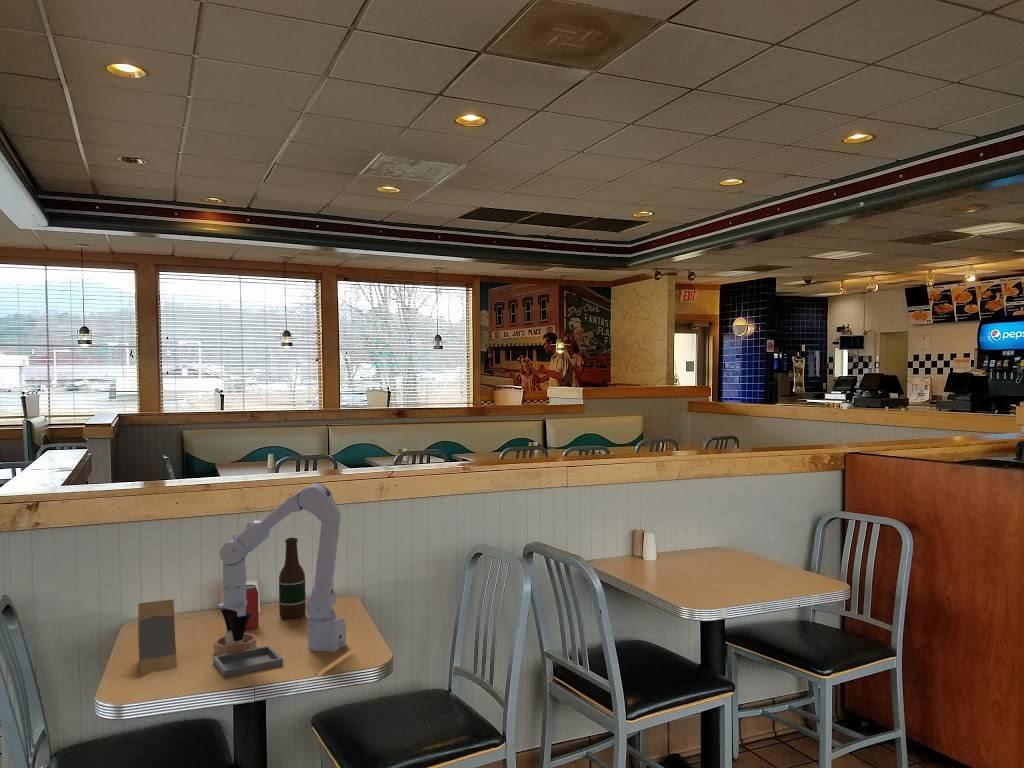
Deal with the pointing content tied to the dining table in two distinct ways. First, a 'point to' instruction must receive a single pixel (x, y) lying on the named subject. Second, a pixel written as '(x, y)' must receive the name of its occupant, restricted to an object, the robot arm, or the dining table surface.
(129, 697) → the dining table surface
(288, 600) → the beer bottle
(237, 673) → the tray
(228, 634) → the white cylinder
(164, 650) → the sandwich container
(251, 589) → the beer can
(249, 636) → the bowl
